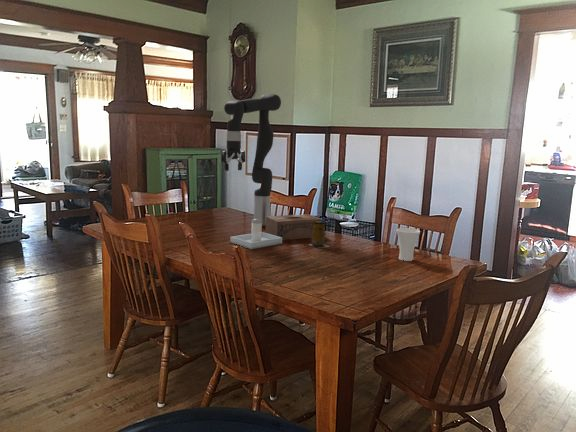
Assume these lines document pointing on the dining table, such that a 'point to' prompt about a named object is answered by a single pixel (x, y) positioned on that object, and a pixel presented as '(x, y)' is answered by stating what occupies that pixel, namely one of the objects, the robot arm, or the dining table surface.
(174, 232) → the dining table surface
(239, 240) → the tray
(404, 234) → the cup
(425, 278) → the dining table surface
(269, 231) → the tissue box cover
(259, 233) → the cylinder
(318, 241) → the condiment
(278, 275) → the dining table surface
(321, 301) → the dining table surface
